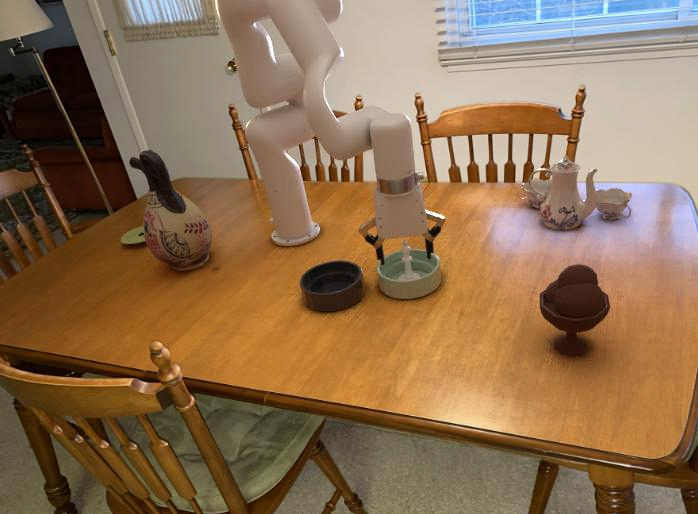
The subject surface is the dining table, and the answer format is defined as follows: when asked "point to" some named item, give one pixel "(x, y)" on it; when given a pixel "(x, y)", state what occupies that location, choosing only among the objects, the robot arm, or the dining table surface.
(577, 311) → the ice cream bowl
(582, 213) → the chinaware
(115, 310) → the dining table surface
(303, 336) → the dining table surface
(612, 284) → the dining table surface
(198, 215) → the ceramic jug
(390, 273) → the green bowl
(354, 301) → the dark bowl
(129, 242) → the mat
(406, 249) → the chess piece
